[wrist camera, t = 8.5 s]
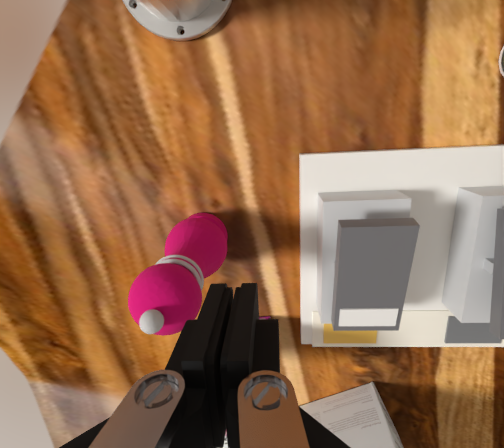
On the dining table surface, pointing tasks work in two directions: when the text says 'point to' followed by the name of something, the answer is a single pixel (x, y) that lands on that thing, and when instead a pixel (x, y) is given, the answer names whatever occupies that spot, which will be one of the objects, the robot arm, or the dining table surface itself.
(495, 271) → the plain switch
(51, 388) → the dining table surface
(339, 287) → the marked switch
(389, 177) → the switch unit
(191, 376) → the robot arm
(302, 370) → the dining table surface
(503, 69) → the supplement bottle
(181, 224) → the pepper mill
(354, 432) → the supplement box
